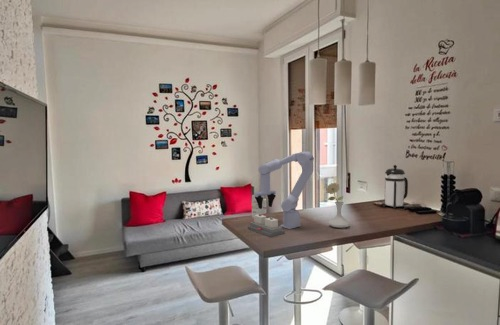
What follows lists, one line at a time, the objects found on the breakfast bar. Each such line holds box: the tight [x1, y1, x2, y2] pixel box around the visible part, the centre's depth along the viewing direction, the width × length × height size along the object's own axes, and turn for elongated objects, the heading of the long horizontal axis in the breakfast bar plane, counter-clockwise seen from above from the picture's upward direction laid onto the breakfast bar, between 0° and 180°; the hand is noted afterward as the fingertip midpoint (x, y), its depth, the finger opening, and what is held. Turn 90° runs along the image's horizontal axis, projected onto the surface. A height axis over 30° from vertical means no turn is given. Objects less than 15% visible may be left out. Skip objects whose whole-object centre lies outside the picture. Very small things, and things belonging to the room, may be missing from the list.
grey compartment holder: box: [247, 216, 286, 238], centre depth 175 cm, size 10×19×8 cm, turn 38°
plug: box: [253, 214, 267, 225], centre depth 179 cm, size 4×6×7 cm, turn 37°
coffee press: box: [382, 164, 409, 210], centre depth 229 cm, size 17×16×30 cm
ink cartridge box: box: [251, 194, 268, 219], centre depth 204 cm, size 9×5×15 cm, turn 68°
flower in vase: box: [325, 182, 350, 229], centre depth 182 cm, size 13×11×25 cm
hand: (265, 207), depth 190 cm, fingers open, 7 cm apart
